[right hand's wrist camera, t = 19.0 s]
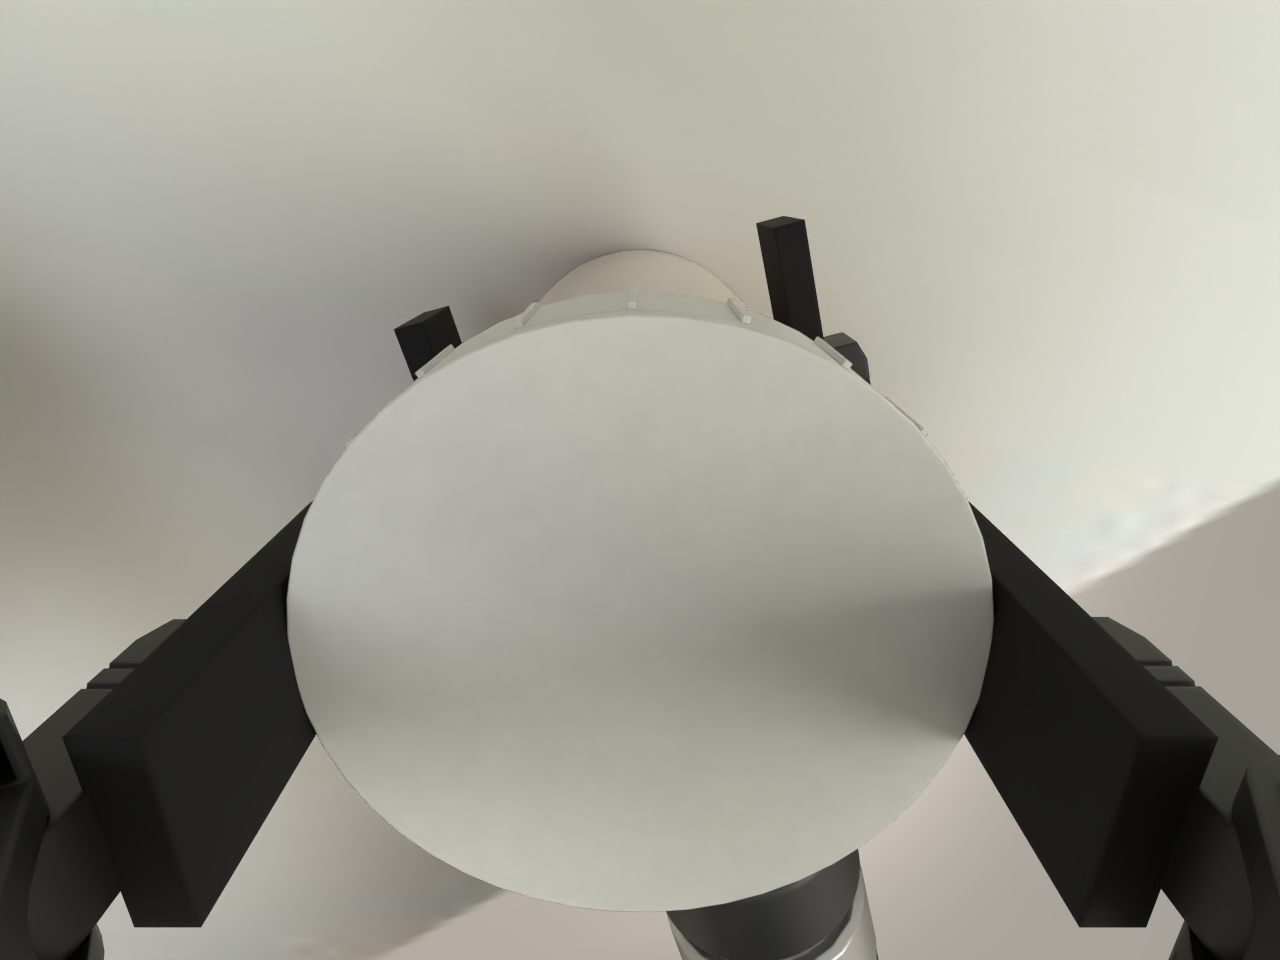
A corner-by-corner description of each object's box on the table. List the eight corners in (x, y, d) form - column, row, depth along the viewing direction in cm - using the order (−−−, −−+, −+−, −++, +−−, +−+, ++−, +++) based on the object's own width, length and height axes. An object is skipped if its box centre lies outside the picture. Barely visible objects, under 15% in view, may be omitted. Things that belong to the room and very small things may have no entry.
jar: (794, 432, 27) (995, 748, 12) (584, 520, 29) (520, 904, 13) (705, 205, 24) (819, 229, 9) (475, 315, 26) (225, 503, 10)
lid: (252, 348, 11) (159, 386, 9) (935, 233, 10) (1011, 243, 8) (432, 837, 14) (398, 945, 12) (940, 774, 14) (994, 876, 12)
